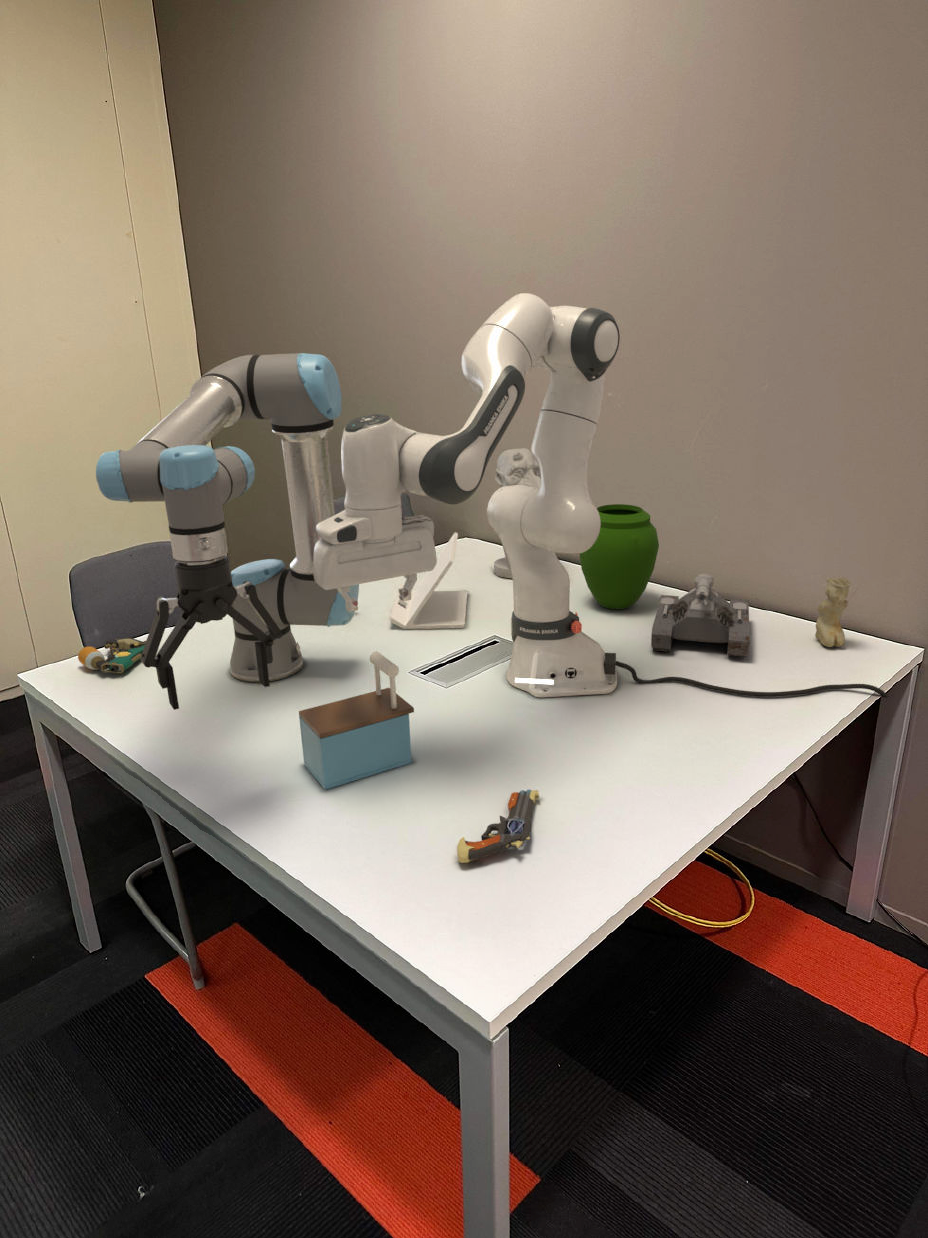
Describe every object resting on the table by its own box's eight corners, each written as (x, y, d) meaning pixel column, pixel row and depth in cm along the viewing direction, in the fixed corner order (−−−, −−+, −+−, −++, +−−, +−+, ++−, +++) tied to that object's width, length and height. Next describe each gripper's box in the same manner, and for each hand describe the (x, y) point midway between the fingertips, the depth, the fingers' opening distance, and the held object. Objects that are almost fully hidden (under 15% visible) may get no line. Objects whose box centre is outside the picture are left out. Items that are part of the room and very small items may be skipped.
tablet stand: (467, 593, 225) (465, 531, 219) (465, 628, 202) (462, 559, 196) (399, 594, 226) (395, 532, 220) (388, 629, 203) (384, 560, 197)
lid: (389, 691, 149) (386, 645, 146) (414, 712, 142) (411, 664, 139) (298, 715, 142) (293, 667, 138) (320, 738, 134) (315, 688, 131)
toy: (659, 614, 207) (663, 554, 202) (746, 620, 201) (752, 559, 196) (650, 654, 184) (653, 588, 179) (747, 662, 179) (754, 595, 173)
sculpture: (821, 649, 184) (830, 583, 179) (808, 637, 191) (816, 573, 185) (848, 649, 184) (858, 582, 179) (834, 636, 191) (843, 572, 185)
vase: (599, 587, 227) (601, 497, 218) (668, 600, 216) (673, 505, 208) (562, 608, 212) (564, 513, 204) (634, 623, 202) (639, 523, 193)
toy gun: (452, 851, 117) (525, 850, 115) (476, 786, 134) (539, 784, 132) (455, 869, 117) (527, 868, 115) (478, 801, 135) (541, 799, 133)
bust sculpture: (503, 593, 225) (502, 460, 212) (483, 567, 247) (480, 445, 234) (562, 587, 228) (563, 456, 215) (536, 562, 250) (536, 441, 237)
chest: (387, 740, 152) (384, 693, 149) (411, 762, 144) (409, 714, 141) (304, 764, 145) (298, 716, 142) (325, 790, 137) (320, 739, 134)
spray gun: (124, 645, 199) (173, 657, 193) (65, 668, 185) (116, 681, 179) (122, 628, 198) (172, 639, 192) (62, 650, 184) (114, 662, 178)
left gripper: (113, 580, 111) (139, 725, 119) (295, 549, 123) (308, 683, 131) (103, 567, 117) (128, 706, 125) (277, 538, 129) (291, 667, 137)
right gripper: (424, 509, 141) (427, 588, 146) (305, 526, 132) (313, 611, 137) (442, 516, 136) (444, 598, 141) (320, 535, 127) (327, 622, 131)
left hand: (220, 694), depth 128 cm, fingers open, 13 cm apart
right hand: (379, 605), depth 139 cm, fingers open, 8 cm apart
